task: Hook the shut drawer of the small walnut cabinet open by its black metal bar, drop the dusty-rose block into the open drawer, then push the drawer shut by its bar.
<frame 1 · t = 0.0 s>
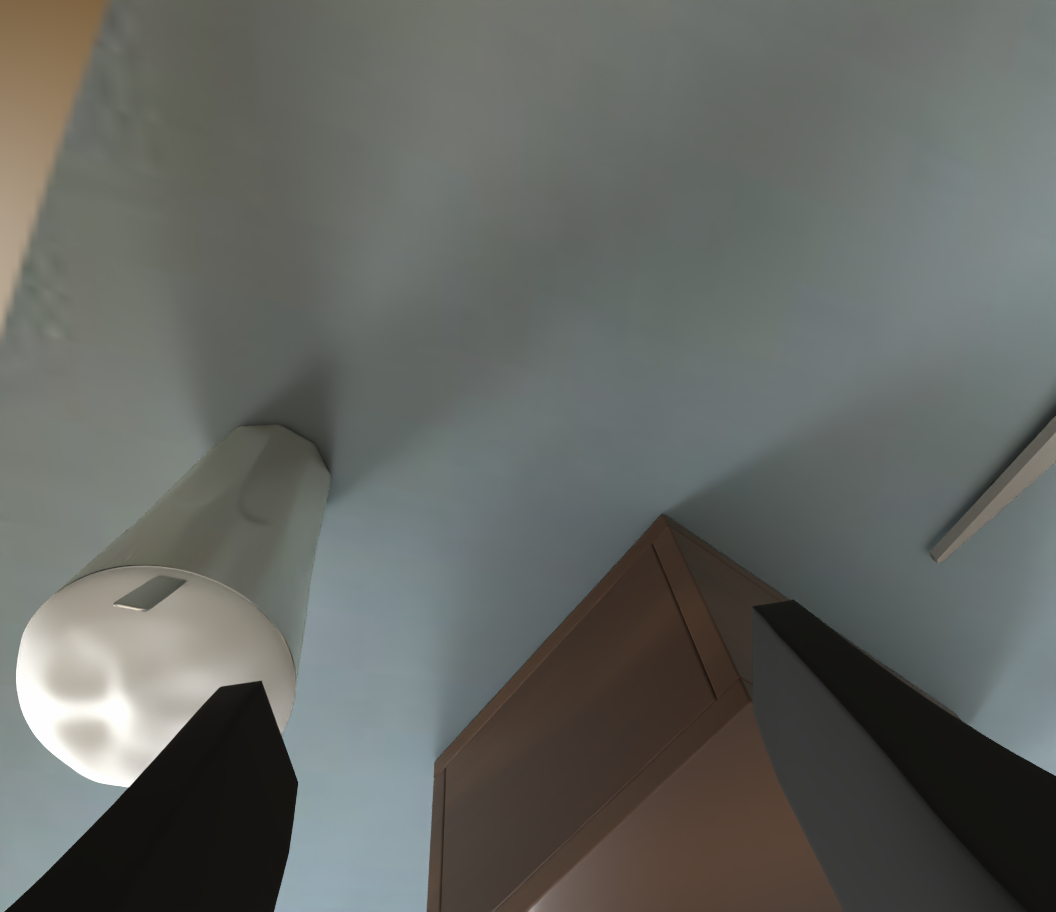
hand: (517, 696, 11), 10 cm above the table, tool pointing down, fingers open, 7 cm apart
cabinet: (698, 737, 26), on the table
milkshake: (274, 461, 21), on the table
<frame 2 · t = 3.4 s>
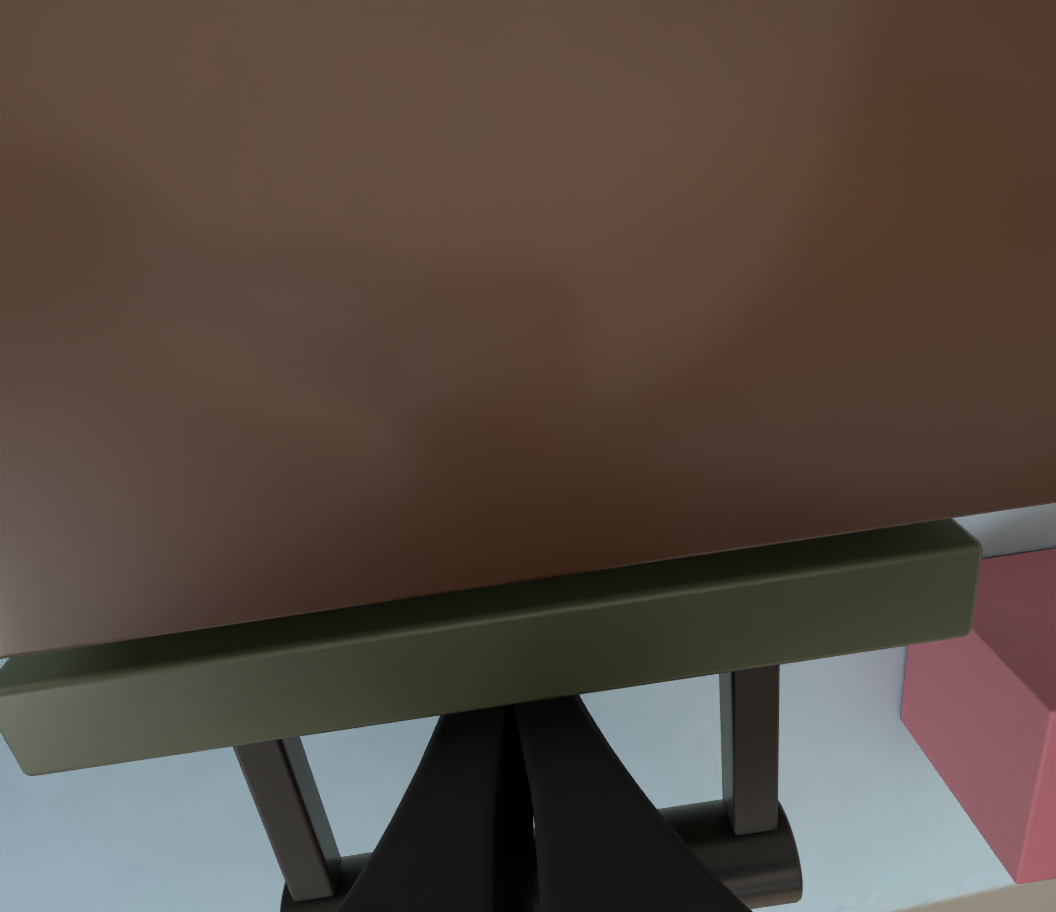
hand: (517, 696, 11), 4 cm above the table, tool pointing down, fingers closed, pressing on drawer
block: (999, 633, 17), on the table
drawer: (447, 298, 9), point 4 cm above the table, slide at 0.9 cm, touching gripper
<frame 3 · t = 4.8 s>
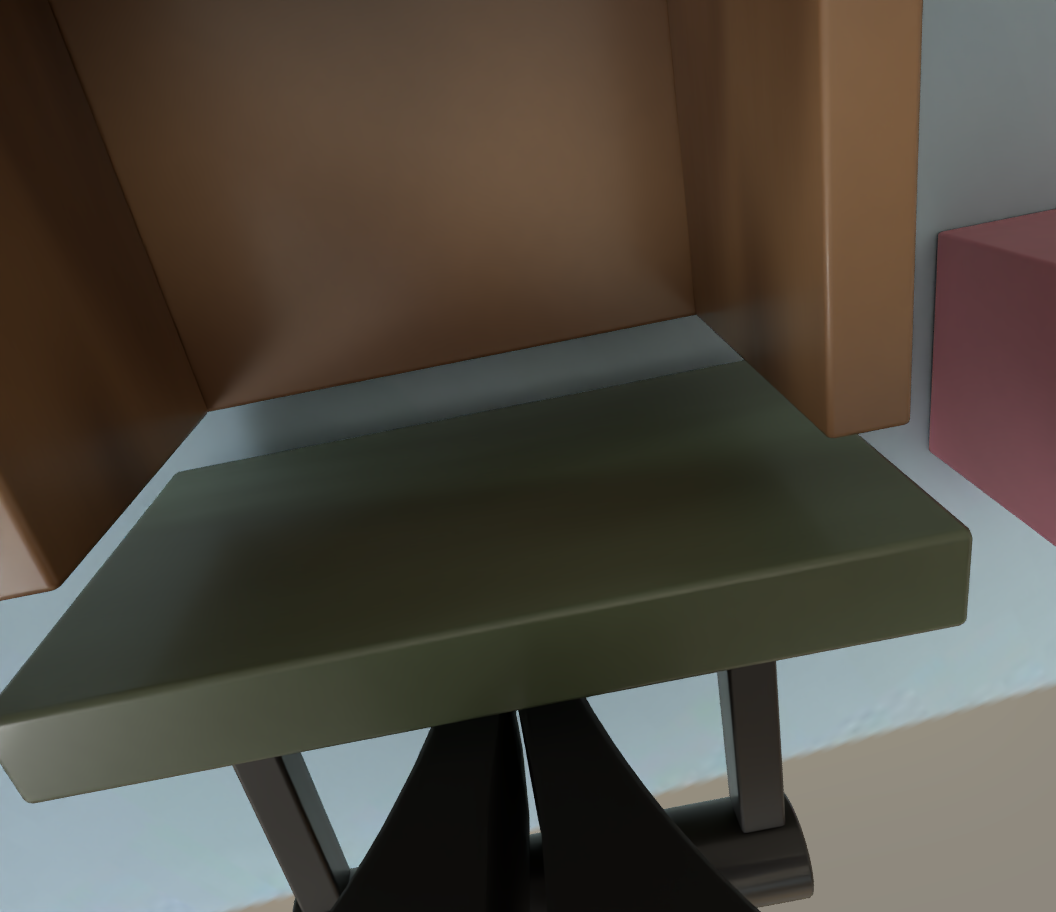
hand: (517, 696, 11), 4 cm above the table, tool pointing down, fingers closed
block: (1046, 325, 14), on the table
drawer: (423, 307, 9), point 4 cm above the table, slide at 7.4 cm, touching gripper
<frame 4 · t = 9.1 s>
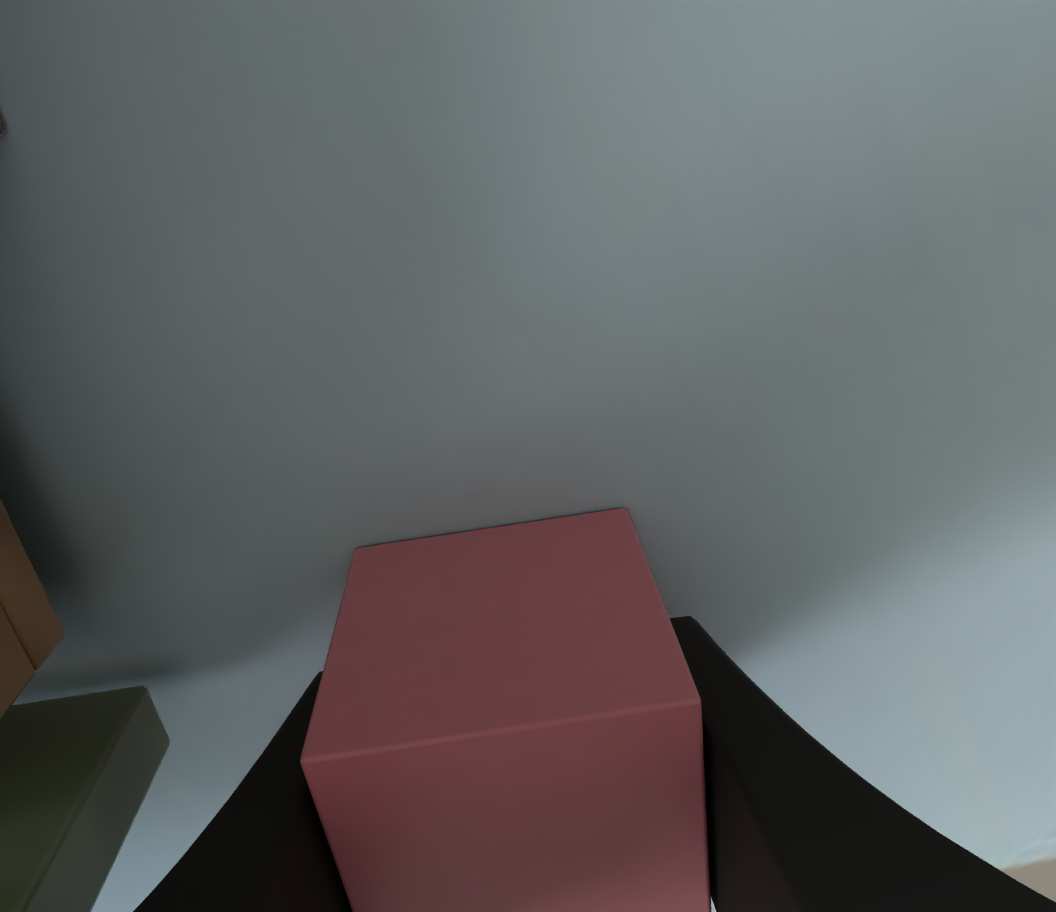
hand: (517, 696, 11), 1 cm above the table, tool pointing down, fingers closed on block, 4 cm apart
block: (509, 636, 13), on the table, touching gripper
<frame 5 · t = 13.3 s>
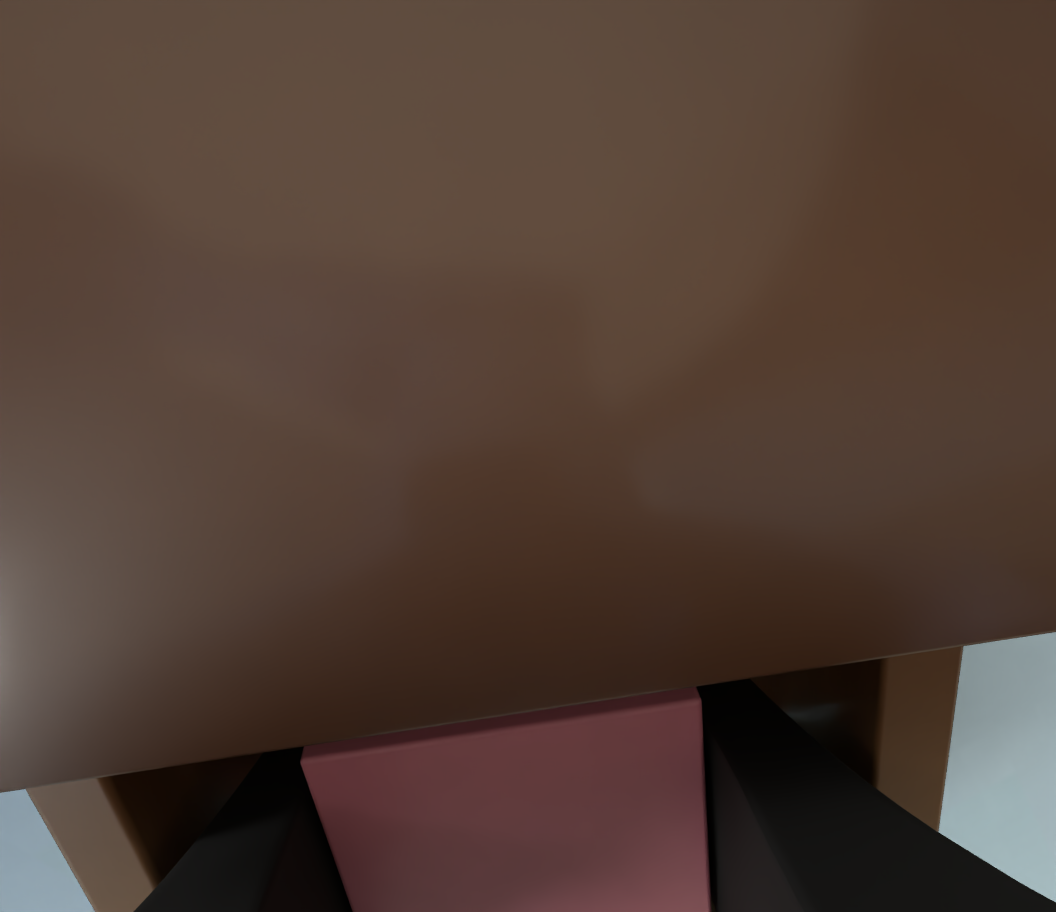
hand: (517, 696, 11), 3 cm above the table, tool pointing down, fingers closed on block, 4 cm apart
block: (510, 636, 13), point 2 cm above the table, touching gripper
drawer: (530, 784, 11), point 4 cm above the table, slide at 7.5 cm, touching gripper
when the fingers open (5 cm above the table, at t = 20.0 s): block stays where it is, resting on drawer.
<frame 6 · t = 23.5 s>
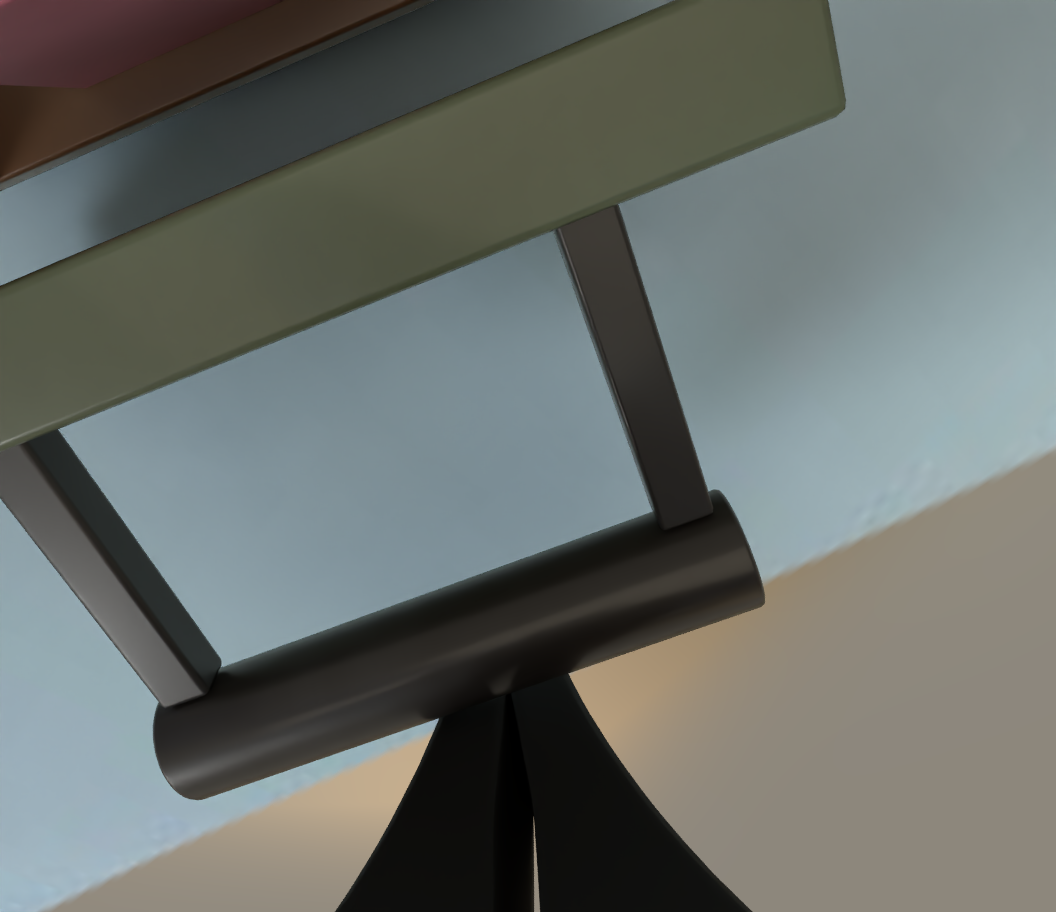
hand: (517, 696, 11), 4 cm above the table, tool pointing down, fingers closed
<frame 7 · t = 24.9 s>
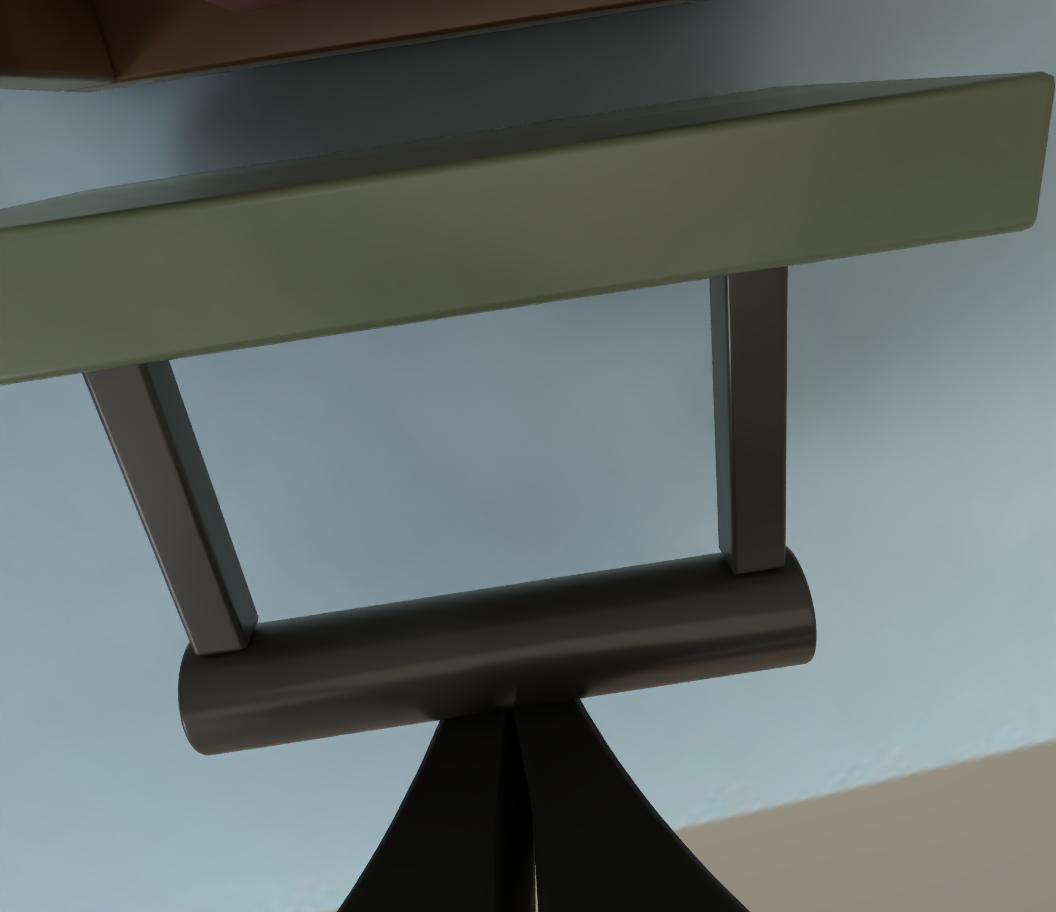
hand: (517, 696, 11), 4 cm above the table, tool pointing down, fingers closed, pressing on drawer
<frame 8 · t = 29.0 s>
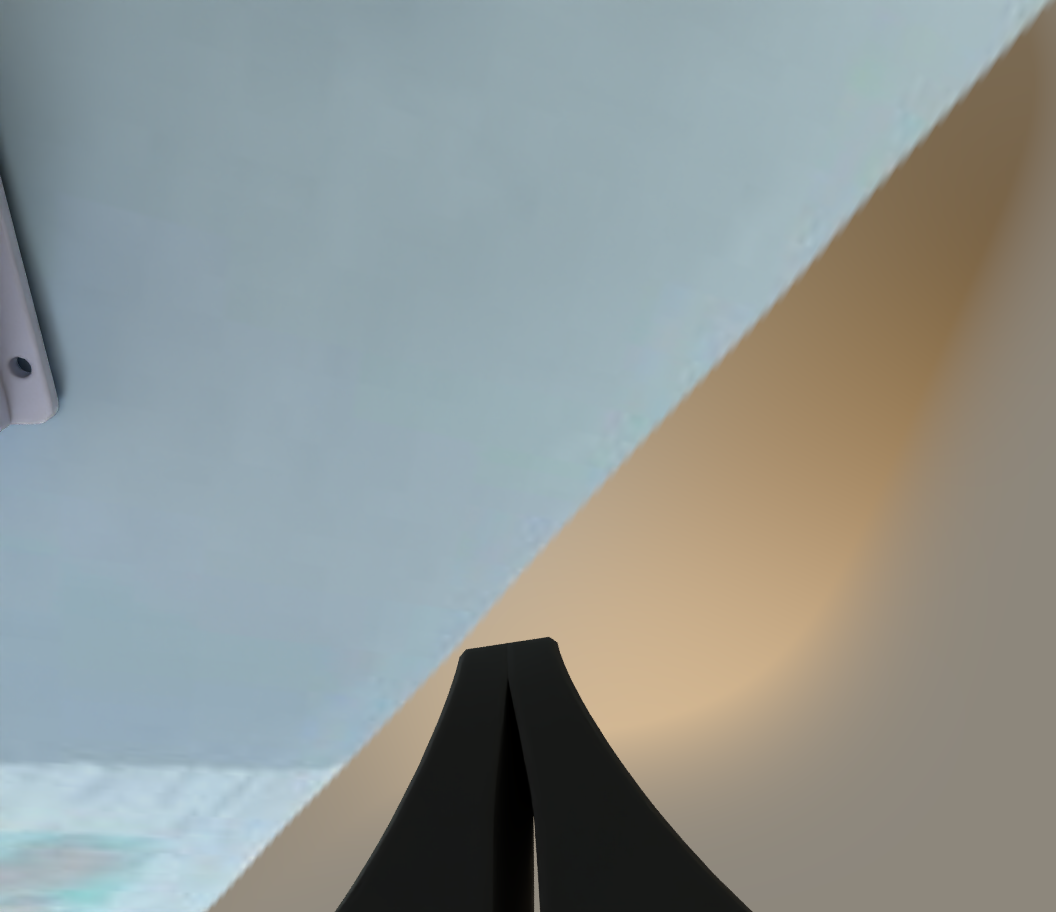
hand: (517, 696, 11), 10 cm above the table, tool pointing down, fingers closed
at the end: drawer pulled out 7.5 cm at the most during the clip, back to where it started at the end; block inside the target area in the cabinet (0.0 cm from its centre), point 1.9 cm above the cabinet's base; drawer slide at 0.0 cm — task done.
